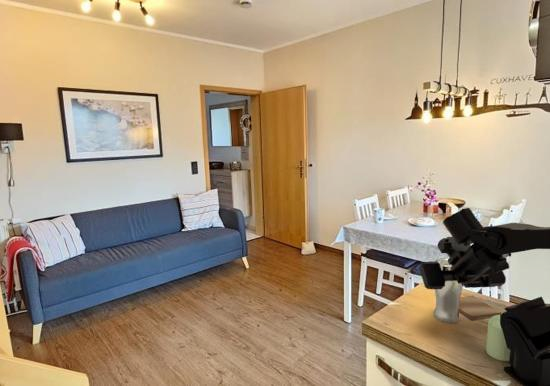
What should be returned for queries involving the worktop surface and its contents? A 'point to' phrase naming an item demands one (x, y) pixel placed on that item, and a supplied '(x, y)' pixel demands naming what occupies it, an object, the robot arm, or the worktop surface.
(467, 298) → the walnut board
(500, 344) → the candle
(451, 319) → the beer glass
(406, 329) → the worktop surface
